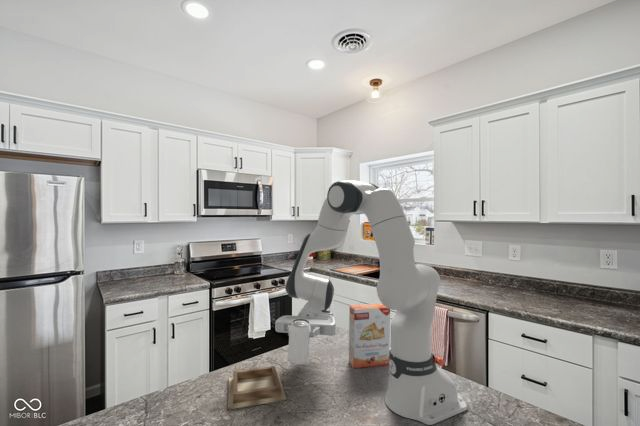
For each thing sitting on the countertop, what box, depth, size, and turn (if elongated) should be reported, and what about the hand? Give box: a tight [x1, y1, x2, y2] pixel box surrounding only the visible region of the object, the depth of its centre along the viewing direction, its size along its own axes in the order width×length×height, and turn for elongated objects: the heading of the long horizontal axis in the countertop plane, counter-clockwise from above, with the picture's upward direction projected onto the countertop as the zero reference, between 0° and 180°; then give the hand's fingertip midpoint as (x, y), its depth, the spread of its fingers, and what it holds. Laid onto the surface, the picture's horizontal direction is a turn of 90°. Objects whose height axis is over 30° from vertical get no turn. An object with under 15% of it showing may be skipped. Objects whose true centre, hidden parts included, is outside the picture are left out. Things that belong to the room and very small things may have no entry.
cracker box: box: [348, 303, 391, 369], centre depth 109 cm, size 14×6×21 cm, turn 104°
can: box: [287, 319, 311, 366], centre depth 93 cm, size 6×6×12 cm
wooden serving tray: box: [227, 365, 287, 410], centre depth 92 cm, size 16×16×3 cm
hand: (301, 334), depth 92 cm, fingers closed on can, 5 cm apart
